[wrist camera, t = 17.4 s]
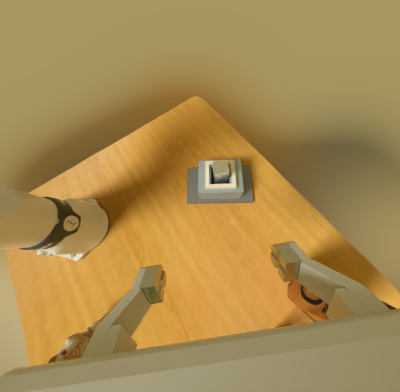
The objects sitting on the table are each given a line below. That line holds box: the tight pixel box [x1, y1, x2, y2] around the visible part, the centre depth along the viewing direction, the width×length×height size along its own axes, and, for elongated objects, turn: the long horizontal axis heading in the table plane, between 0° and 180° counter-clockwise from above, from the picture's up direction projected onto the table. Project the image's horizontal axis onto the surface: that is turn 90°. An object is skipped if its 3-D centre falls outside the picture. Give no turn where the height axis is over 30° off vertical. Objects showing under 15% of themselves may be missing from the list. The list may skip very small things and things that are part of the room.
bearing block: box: [187, 159, 254, 204], centre depth 43 cm, size 20×12×7 cm, turn 90°
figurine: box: [48, 317, 105, 363], centre depth 30 cm, size 7×7×15 cm
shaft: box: [212, 159, 230, 184], centre depth 40 cm, size 4×4×11 cm
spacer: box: [205, 160, 236, 189], centre depth 39 cm, size 8×8×1 cm
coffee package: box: [288, 280, 396, 322], centre depth 24 cm, size 10×12×22 cm
